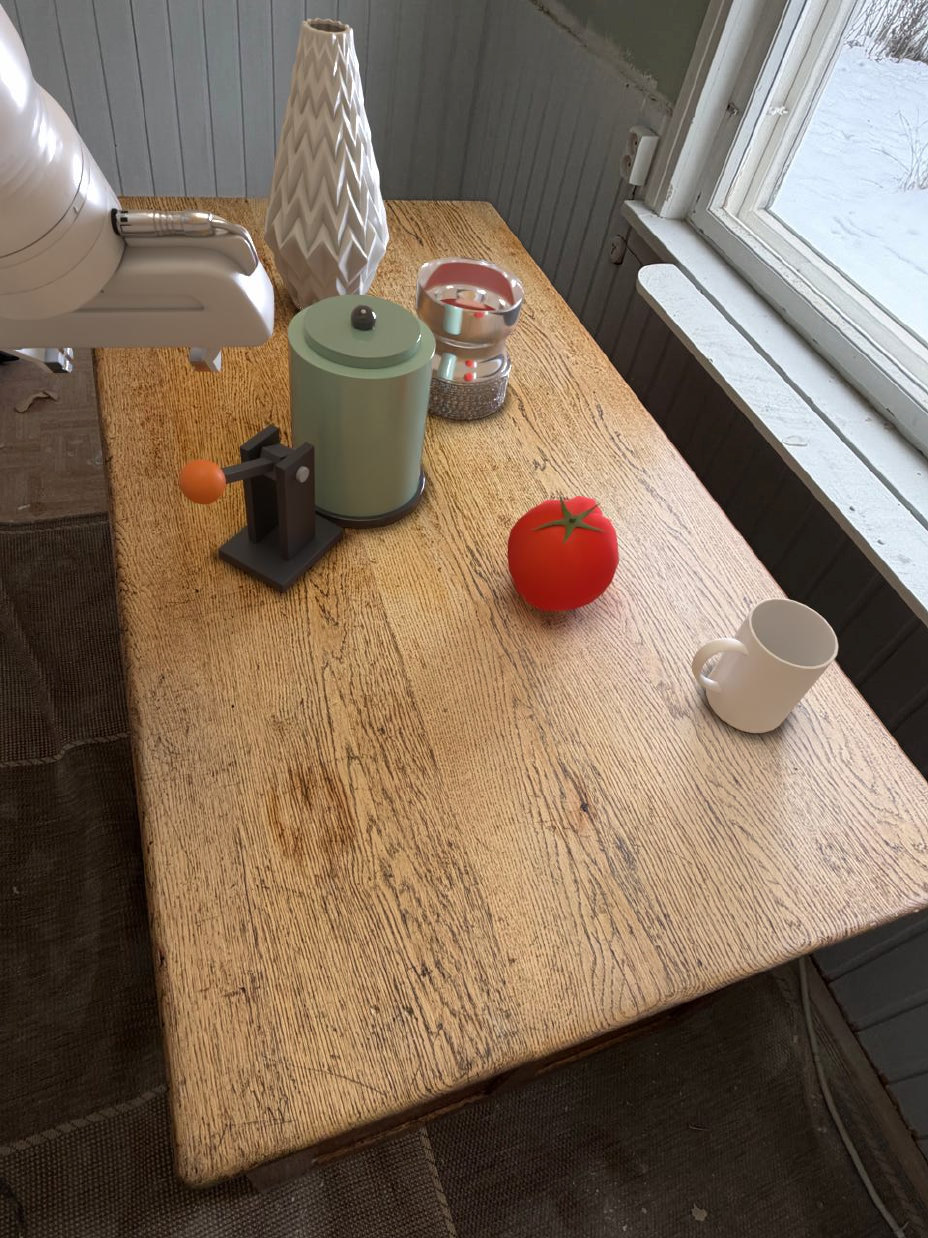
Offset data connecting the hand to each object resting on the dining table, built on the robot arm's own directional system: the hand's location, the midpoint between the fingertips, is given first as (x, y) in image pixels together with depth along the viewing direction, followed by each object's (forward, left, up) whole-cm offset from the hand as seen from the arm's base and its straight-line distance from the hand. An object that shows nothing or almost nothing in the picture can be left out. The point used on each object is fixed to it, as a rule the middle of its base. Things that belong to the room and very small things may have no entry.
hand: (135, 362), depth 50 cm
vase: (+5, +61, -28) cm, 68 cm away
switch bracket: (+6, +12, -28) cm, 31 cm away
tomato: (+34, +10, -28) cm, 46 cm away
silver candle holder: (+23, +46, -28) cm, 59 cm away
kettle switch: (+4, +8, -17) cm, 19 cm away
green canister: (+13, +24, -28) cm, 39 cm away
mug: (+50, -3, -28) cm, 58 cm away
